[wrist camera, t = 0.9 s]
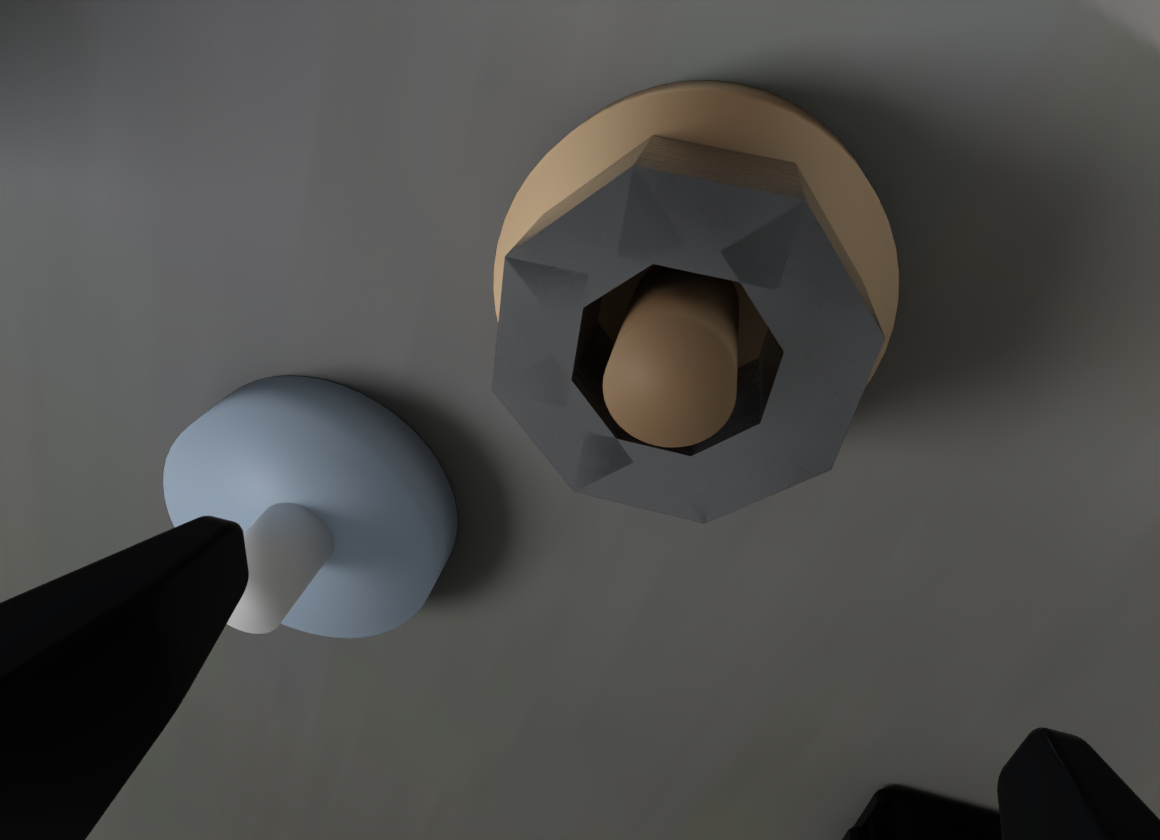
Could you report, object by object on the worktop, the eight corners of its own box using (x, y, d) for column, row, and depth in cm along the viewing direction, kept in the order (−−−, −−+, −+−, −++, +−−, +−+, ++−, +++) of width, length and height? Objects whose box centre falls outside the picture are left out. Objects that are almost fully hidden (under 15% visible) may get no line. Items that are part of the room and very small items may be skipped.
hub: (466, 413, 22) (397, 517, 17) (450, 622, 26) (393, 743, 22) (186, 347, 22) (55, 430, 18) (219, 561, 27) (122, 666, 23)
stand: (949, 123, 15) (1047, 190, 10) (813, 465, 20) (835, 625, 15) (537, 45, 16) (441, 72, 11) (501, 392, 21) (422, 521, 16)
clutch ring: (899, 183, 14) (932, 225, 12) (792, 468, 18) (799, 546, 15) (555, 115, 15) (515, 141, 12) (520, 404, 19) (484, 470, 16)
